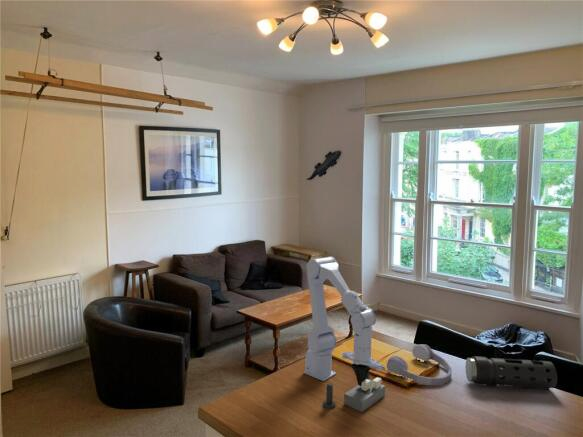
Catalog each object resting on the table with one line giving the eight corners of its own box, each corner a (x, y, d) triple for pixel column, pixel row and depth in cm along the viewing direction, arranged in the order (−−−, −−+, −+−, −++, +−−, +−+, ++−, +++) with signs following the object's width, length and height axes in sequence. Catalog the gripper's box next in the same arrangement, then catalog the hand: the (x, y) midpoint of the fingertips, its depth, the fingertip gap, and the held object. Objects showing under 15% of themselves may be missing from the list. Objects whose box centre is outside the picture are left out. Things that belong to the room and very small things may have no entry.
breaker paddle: (361, 389, 144) (361, 382, 144) (366, 386, 146) (366, 379, 146) (365, 391, 143) (365, 383, 143) (370, 387, 145) (370, 380, 145)
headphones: (383, 371, 165) (430, 396, 151) (385, 354, 164) (432, 377, 150) (416, 355, 180) (461, 376, 166) (417, 339, 179) (464, 359, 164)
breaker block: (344, 403, 142) (344, 385, 142) (367, 388, 153) (367, 371, 152) (362, 412, 138) (362, 393, 137) (384, 395, 148) (385, 377, 147)
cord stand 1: (320, 405, 141) (321, 385, 140) (328, 400, 144) (328, 380, 143) (330, 410, 139) (331, 389, 138) (337, 405, 142) (338, 384, 141)
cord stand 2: (358, 381, 157) (358, 363, 157) (364, 377, 160) (365, 359, 160) (367, 385, 155) (368, 366, 154) (373, 381, 158) (374, 362, 157)
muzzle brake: (556, 396, 149) (558, 367, 148) (471, 391, 152) (473, 362, 151) (543, 383, 159) (545, 356, 157) (463, 378, 162) (465, 351, 160)
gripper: (337, 342, 146) (336, 381, 148) (375, 355, 136) (373, 396, 138) (349, 337, 151) (348, 374, 153) (386, 349, 142) (384, 388, 143)
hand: (361, 384), depth 146 cm, fingers closed
